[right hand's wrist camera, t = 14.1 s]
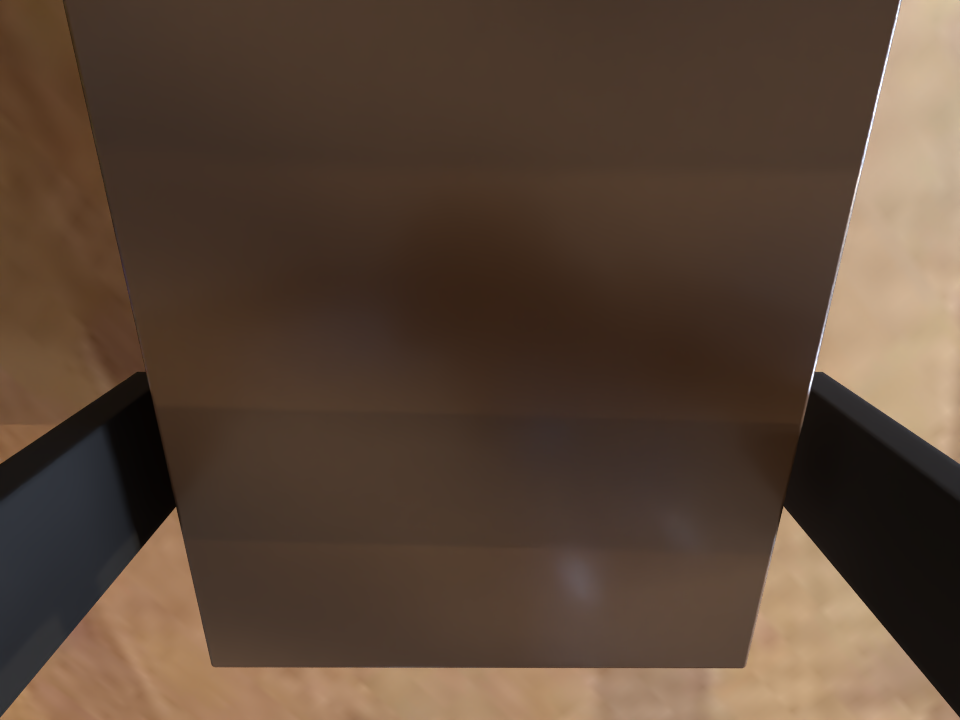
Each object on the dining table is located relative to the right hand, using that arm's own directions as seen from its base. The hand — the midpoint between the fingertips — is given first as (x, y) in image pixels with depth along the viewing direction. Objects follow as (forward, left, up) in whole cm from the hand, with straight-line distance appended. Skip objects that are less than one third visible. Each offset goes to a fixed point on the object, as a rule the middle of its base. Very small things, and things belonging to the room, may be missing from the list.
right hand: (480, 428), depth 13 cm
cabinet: (0, -4, -7) cm, 9 cm away
